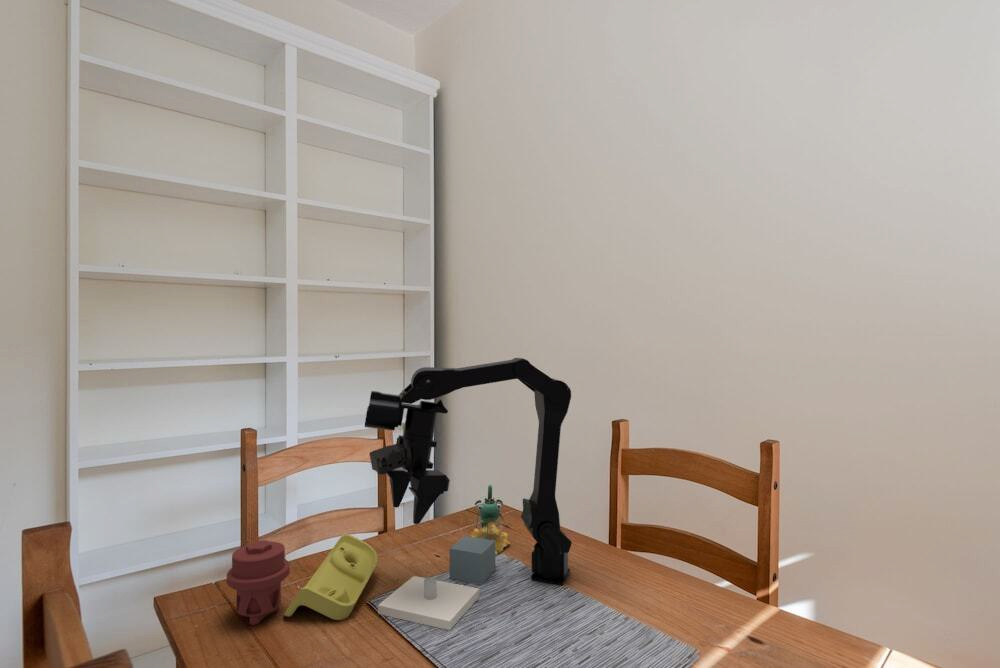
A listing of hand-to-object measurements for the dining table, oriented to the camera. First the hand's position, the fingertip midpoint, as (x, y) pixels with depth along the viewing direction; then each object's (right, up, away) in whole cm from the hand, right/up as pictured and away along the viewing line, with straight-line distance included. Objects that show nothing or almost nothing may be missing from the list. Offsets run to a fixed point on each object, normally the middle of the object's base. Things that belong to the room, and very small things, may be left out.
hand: (405, 515), depth 102 cm
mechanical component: (-24, -15, -8) cm, 29 cm away
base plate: (+5, -14, -5) cm, 16 cm away
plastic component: (-12, -15, -1) cm, 19 cm away
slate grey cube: (+12, -14, +7) cm, 20 cm away
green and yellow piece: (+16, -15, +23) cm, 31 cm away
